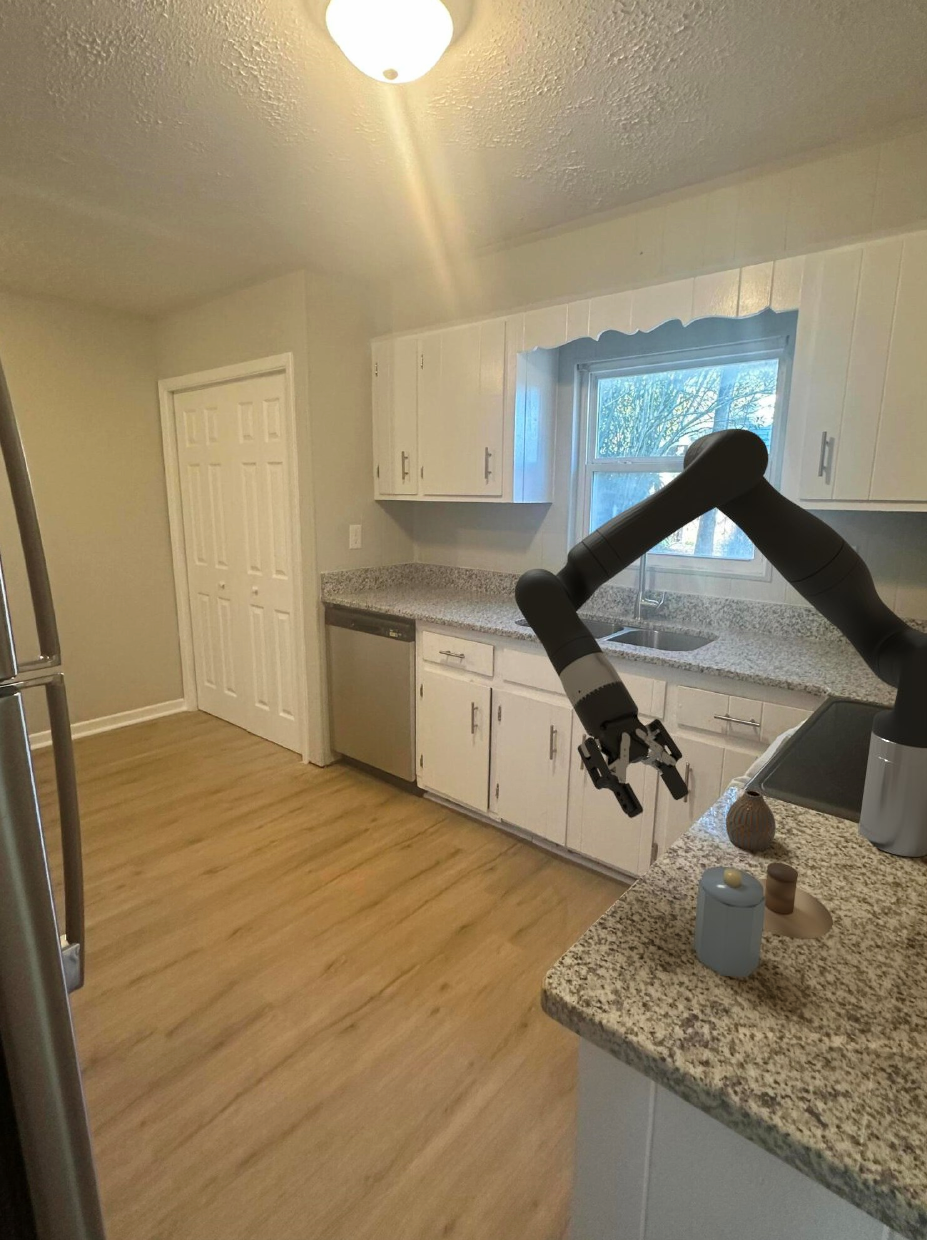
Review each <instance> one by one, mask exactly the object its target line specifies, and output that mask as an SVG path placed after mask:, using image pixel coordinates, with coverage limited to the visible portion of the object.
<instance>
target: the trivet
mask: <svg viewBox="0 0 927 1240" xmlns="http://www.w3.org/2000/svg"><path fill="white" fill-rule="evenodd" d="M756 879H757V880H758V881H759V882H760V883H761V884H762V886H763V889H764V893H763V895H764V897H765V889H766V879H767V878H756ZM832 927H833V916H832V914H831V912H830V911H829V910H828V908H827V907H826V906H825V905H824V904H823V903H822V901H820V900H819V899H818V898H816V897H815V896H813V895H812V894H810V893H809V892H807V891H805V890H804V889H801V888H799V887H797V886H796V893H795V902H794V910H793V913H791V914H789V915H782V914H777V913H775V912H772V911H771V910H769V909H768V908H767V907H766V906H765V911H764V920H763V930H764V931H766V932H768V933H771V934H774V935H778V936H782V937H787V938H791V939H792V938H793V939H801V940H802V939H804V940H805V939H816V938H819V937H822V936H824V935H826V934H827V933H829V931H830V930H831V929H832ZM763 930H762V931H763Z"/></svg>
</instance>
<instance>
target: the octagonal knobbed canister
mask: <svg viewBox="0 0 927 1240" xmlns="http://www.w3.org/2000/svg"><path fill="white" fill-rule="evenodd" d="M757 879H758V878H756V877H755V876H754V875H752V874H750V873H748V872H746V871H743V870H742V869H739V868H734V867H732V866H731V867H730V866H721V865H720V866H719V865H718V866H712V867H709V868H706V869H705V870H704V871H702V874H701V878H700V879H699V880H698V887H697V900H696V910H695V911H696V914H695V924H694V926H695V927H694V935H693V936H694V937H693V947H694V950H695V953H696V956H697V958H698V961H699V962H700V963H701V964H703V965H704V966H706V967H707V968H709V969H711V970H713V971H714V972H715V973H717V974H719V975H721V976H724V977H725V976H727V977H737V978H748V977H749V976H750V975H751V974H752V973H753V972H754V971H755V970H756V969H758V967H760V958H761V946H762V940H763V939H762V937H763V920H764V911H765V901H766V898H765V897H764V895H763V893H764V889H763V886H762V884H761V883H760V882H759V881H758V880H757Z"/></svg>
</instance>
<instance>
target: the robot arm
mask: <svg viewBox="0 0 927 1240" xmlns="http://www.w3.org/2000/svg"><path fill="white" fill-rule="evenodd" d="M768 464H769V451H768V448H767V446H766V443H765V441H764V440H763V439H762V438H761V437H760V436H759V435H758V434H756V433H755V432H753V431H751V430H749V429H744V428H728V429H721V430H718V431H713V432H710V433H707V434H705V435H702V436H701V437H698V438H697V439H696V440H695V441H693V442H692V443H691V444H690V445H689V446H688V448H687V450H686V452H685V454H684V457H683V470H682V471H681V472H680V473H679V474H677V476H676V477H674V478H673V479H671V481H669V482H668V483H666V484H665V485H664V486H663V487H661V488H660V489H658V490H657V491H655V492H654V493H652V494H651V495H649V496H647V497H646V498H644V499H643V500H641V501H639V502H637V503H636V504H634V505H633V506H630V507H629V508H627V509H626V510H624V511H622V512H621V513H619V514H618V515H615V516H614V517H613V518H611V519H610V520H608V521H606V522H605V523H603V524H602V525H601V526H599V527H598V528H597V529H595V530H594V531H592V532H591V533H590V534H588V535H587V536H586V537H584V538H583V539H582V540H581V541H579V542H578V543H577V544H575V545H574V546H573V547H572V548H571V549H570V550H569V551H568V553H567V559H566V560H567V562H566V565H564V566H563V568H561V569H560V571H558V572H557V573H556V574H554V573H553V572H551V571H549V570H548V569H543V568H532V569H529V570H527V571H525V572H524V573H522V574H521V575H520V576H519V578H518V579H517V581H516V584H515V588H514V598H515V599H514V600H515V603H516V605H517V607H518V609H519V611H520V613H521V615H522V616H523V618H524V619H525V621H526V622H527V624H528V626H529V627H530V629H531V630H532V631H533V633H534V634H535V636H536V637H537V639H538V640H539V641H540V643H541V645H542V646H543V648H544V650H545V652H546V655H547V657H548V660H549V661H550V663H551V665H552V667H553V669H554V671H555V672H556V675H557V676H558V678H559V680H560V682H561V685H562V688H563V691H564V693H565V694H566V696H567V699H568V700H569V702H570V704H571V707H572V708H573V710H574V712H575V714H576V715H577V717H578V719H579V721H580V723H581V724H582V726H583V728H584V730H585V732H586V734H587V735H588V738H586V739H585V740H584V741H583V742H582V743H581V744H579V745H578V746H577V751H578V754H579V756H580V758H581V760H582V762H583V764H584V767H585V769H586V770H587V773H588V775H589V777H590V779H591V781H592V784H593V786H594V787H595V789H596V790H602V789H608V790H609V791H610V792H612V793H613V795H614V796H615V798H616V801H617V803H618V804H619V806H620V808H621V809H622V811H623V812H624V814H625V815H627V816H628V818H630V819H632V818H635V817H638V815H641V814H642V813H643V812H644V807H643V806H642V804H641V803H640V801H639V799H638V797H637V795H636V793H635V791H634V789H633V788H632V786H631V784H630V782H627V769H628V767H629V766H630V764H637V763H639V762H640V763H642V764H643V765H644V766H645V765H646V766H651V767H652V768H653V769H654V770H655V771H657V772H659V773H660V777H661V779H662V781H663V783H664V785H665V786H666V788H667V789H668V791H669V793H670V795H671V797H672V798H673V800H675V801H678V800H681V799H683V798H685V797H687V796H688V795H689V790H688V785H687V784H686V782H685V780H684V779H683V777H682V776H681V774H680V771H679V770H678V769H677V766H676V765H677V763H678V762H679V760H680V759H682V758H683V754H682V752H681V750H680V748H679V747H678V746H677V744H676V742H675V741H674V740H673V737H672V736H671V735H670V734H669V731H668V730H667V729H666V727H665V726H664V724H663V723H662V721H661V720H660V719H659V718H655V719H654V720H652V721H650V722H649V723H648V724H646V725H645V724H644V723H643V722H642V721H641V720H640V719H639V715H638V714H639V707H638V705H637V703H636V702H635V701H634V698H633V697H632V695H631V693H630V691H628V689H627V687H626V685H625V684H624V682H623V680H622V678H621V677H620V675H619V674H618V671H617V670H616V668H615V667H614V665H613V663H612V662H610V660H609V659H608V657H607V656H606V655H605V653H604V651H603V650H602V647H601V646H600V645H599V643H598V641H597V640H596V638H595V636H594V635H593V634H592V632H591V631H590V629H589V628H588V626H587V625H585V623H584V622H583V620H582V619H581V618H580V617H579V615H578V611H579V610H580V609H581V608H582V607H583V606H584V605H585V604H586V603H587V602H588V600H590V598H591V597H592V596H593V595H594V594H595V593H596V591H597V590H598V589H599V588H600V587H601V586H602V585H604V584H606V583H607V582H608V581H610V580H612V579H613V578H615V576H617V575H618V574H619V573H622V571H624V570H625V569H626V568H628V567H629V566H630V565H632V564H634V562H636V561H637V560H639V558H641V557H642V556H643V555H645V554H646V553H648V552H649V551H651V550H652V549H653V548H654V547H656V546H657V545H659V543H662V542H663V541H665V540H666V539H667V538H669V537H670V536H671V535H673V534H675V533H676V532H677V531H679V530H681V528H683V527H686V526H687V525H688V524H690V523H691V522H693V521H695V520H697V519H698V518H700V517H701V516H703V515H705V514H706V513H709V512H710V511H712V510H714V509H715V508H716V509H717V510H718V511H720V512H721V514H723V515H725V517H727V518H728V519H729V520H730V521H731V522H732V523H734V524H735V525H736V526H737V527H738V528H739V529H740V530H741V531H742V532H743V533H744V535H746V537H747V538H748V540H750V541H751V543H752V544H753V545H754V546H755V548H756V549H757V550H758V551H759V552H760V553H761V554H762V555H763V556H764V558H765V559H766V560H767V561H768V562H769V563H770V564H771V565H772V566H773V567H774V568H775V570H776V571H777V572H778V573H779V575H781V576H782V578H784V580H786V581H787V582H788V583H789V584H790V586H791V587H792V588H794V589H795V590H796V591H797V592H798V594H799V595H800V596H801V597H802V598H804V600H806V601H807V602H808V603H809V604H810V605H811V606H812V607H813V608H814V609H815V610H816V611H817V612H818V613H820V614H821V615H822V617H823V618H825V619H826V620H828V621H829V622H830V623H831V624H832V625H833V626H834V627H835V628H836V629H837V630H839V631H840V632H841V633H842V634H843V636H845V638H846V639H847V640H848V642H850V644H851V645H852V647H853V648H854V649H855V651H856V652H857V654H858V655H859V656H860V657H861V658H862V660H863V661H864V662H865V664H866V665H867V666H868V668H869V669H870V670H871V671H872V672H873V674H874V675H875V676H876V677H877V678H878V679H879V680H881V681H882V682H883V683H884V684H886V685H888V686H890V687H893V688H894V689H897V691H896V695H895V698H894V699H895V700H894V704H893V708H892V709H886V710H881V711H878V712H877V713H876V714H875V715H874V717H873V720H872V726H871V735H870V742H869V751H868V757H867V759H868V760H867V764H866V765H867V766H866V773H865V774H866V775H865V781H864V788H863V797H862V803H861V805H862V806H861V809H860V811H861V812H860V818H859V825H858V826H859V827H858V836H863V837H864V838H865V839H866V840H867V841H868V842H869V843H870V844H871V845H872V846H873V847H874V848H876V849H878V850H881V851H882V852H883V851H884V852H887V853H890V854H894V855H898V856H901V857H914V858H915V857H924V856H927V633H926V632H923V631H920V630H918V629H916V628H914V627H912V626H911V625H909V624H908V623H907V622H905V621H904V620H903V619H901V618H900V617H899V616H898V615H897V614H896V613H895V612H894V611H892V609H890V608H889V607H888V606H887V605H886V604H885V603H884V600H882V598H881V597H880V596H879V594H878V591H877V589H876V586H875V583H874V580H873V576H872V574H871V571H870V569H869V568H868V565H867V564H866V562H865V561H864V559H863V558H862V557H861V555H860V554H859V553H858V552H857V551H856V550H855V549H854V548H853V547H852V546H851V545H850V543H848V542H847V541H846V540H845V538H844V537H842V536H841V535H840V533H838V531H836V530H835V529H834V528H833V527H832V526H830V525H829V524H827V523H826V522H824V521H823V520H822V519H820V518H819V517H818V516H816V515H814V514H813V513H811V512H810V511H808V510H807V509H805V508H803V507H802V506H800V505H798V504H797V503H795V502H794V501H793V500H790V499H789V498H787V497H786V496H784V495H783V494H782V493H780V491H778V490H777V489H776V488H775V487H774V486H773V485H772V484H771V483H770V482H769V480H768V479H767V478H766V477H765V473H766V472H767V469H768ZM666 748H667V749H668V750H669V751H667V749H666ZM669 752H670V753H669ZM604 756H605V758H604ZM626 782H627V783H626Z"/></svg>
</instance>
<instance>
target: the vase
mask: <svg viewBox="0 0 927 1240" xmlns="http://www.w3.org/2000/svg"><path fill="white" fill-rule="evenodd" d="M776 828H777V826H776V819H775V816H774V813H773V811H772V809H771V808H770V806H769V805H768V804H767V802H766V801H765V799H764V796H763V794H762V793H761V792H760V791H758V790H754V789H747V790H744V792H743V793H742V795H741V796H740V797H739V798H738V799H736V800H734V802H733V803H732V804H731V805H730V806H729V808H728V811H727V813H726V817H725V830H726V834H727V835H728V839H729V840H730V841H731V843H733V844H734V845H735V846H737V847H739V848H741V849H744V850H747V851H753V852H760V851H765V850H767V849H768V848H769V847H770V846H771V845H772V843H773V841H774V839H775V835H776V830H777V829H776Z"/></svg>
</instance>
